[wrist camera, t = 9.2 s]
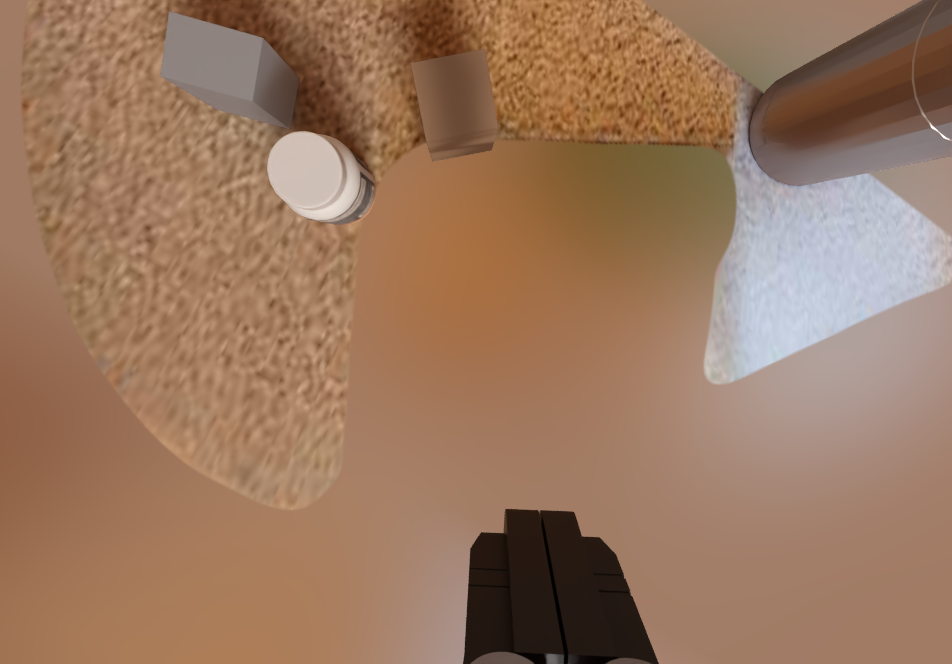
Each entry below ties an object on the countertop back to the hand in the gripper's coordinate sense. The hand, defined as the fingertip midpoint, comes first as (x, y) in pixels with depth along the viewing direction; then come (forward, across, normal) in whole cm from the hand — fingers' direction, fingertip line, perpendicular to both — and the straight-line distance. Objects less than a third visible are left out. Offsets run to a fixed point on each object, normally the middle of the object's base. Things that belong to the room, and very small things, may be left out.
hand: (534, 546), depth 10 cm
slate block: (+31, +20, -17) cm, 41 cm away
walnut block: (+32, +4, -15) cm, 35 cm away
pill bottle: (+31, +14, -10) cm, 35 cm away
